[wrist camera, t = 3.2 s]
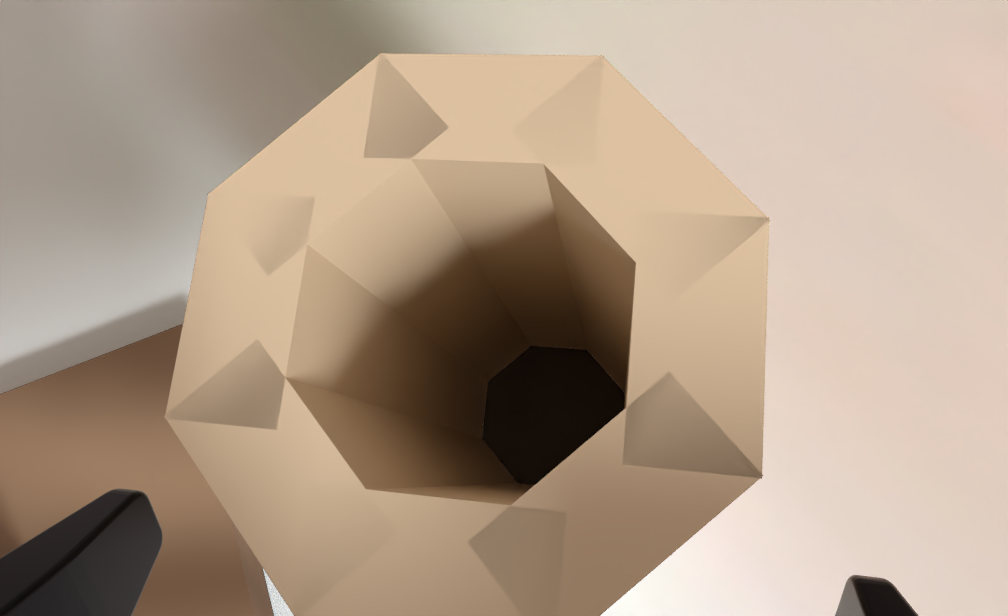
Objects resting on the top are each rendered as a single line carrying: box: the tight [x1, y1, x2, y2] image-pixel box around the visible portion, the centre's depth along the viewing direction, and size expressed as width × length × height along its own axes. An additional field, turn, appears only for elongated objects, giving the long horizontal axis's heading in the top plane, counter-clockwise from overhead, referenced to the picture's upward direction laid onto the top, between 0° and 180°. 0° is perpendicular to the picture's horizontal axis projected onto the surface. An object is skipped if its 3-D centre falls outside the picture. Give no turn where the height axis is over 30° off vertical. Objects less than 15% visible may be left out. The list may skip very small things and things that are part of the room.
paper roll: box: [164, 53, 770, 616], centre depth 14 cm, size 6×6×12 cm
